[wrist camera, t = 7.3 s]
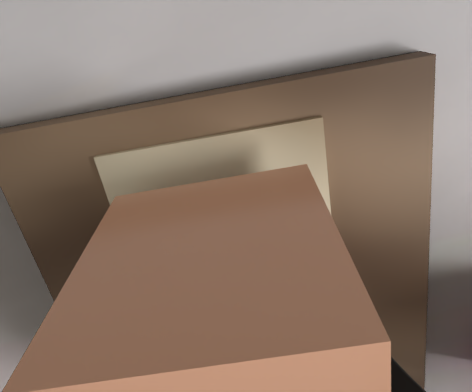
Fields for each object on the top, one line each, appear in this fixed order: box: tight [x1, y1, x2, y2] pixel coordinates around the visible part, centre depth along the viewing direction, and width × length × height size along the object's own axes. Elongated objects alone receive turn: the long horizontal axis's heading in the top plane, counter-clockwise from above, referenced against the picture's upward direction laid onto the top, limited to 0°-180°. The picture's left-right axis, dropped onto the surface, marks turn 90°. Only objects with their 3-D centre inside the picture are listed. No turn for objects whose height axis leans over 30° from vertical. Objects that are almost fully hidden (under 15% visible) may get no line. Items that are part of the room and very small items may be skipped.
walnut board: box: [0, 51, 436, 389], centre depth 18 cm, size 26×14×1 cm, turn 10°
